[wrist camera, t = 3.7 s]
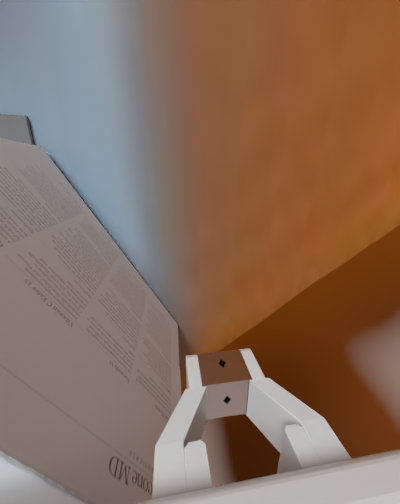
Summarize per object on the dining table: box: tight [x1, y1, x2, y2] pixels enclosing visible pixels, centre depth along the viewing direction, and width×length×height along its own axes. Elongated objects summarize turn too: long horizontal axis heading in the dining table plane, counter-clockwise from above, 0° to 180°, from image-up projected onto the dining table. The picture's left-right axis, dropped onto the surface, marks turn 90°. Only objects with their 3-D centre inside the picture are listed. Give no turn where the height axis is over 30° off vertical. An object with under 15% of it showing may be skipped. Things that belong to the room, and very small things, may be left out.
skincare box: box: [0, 138, 182, 504], centre depth 13 cm, size 21×5×16 cm, turn 30°
